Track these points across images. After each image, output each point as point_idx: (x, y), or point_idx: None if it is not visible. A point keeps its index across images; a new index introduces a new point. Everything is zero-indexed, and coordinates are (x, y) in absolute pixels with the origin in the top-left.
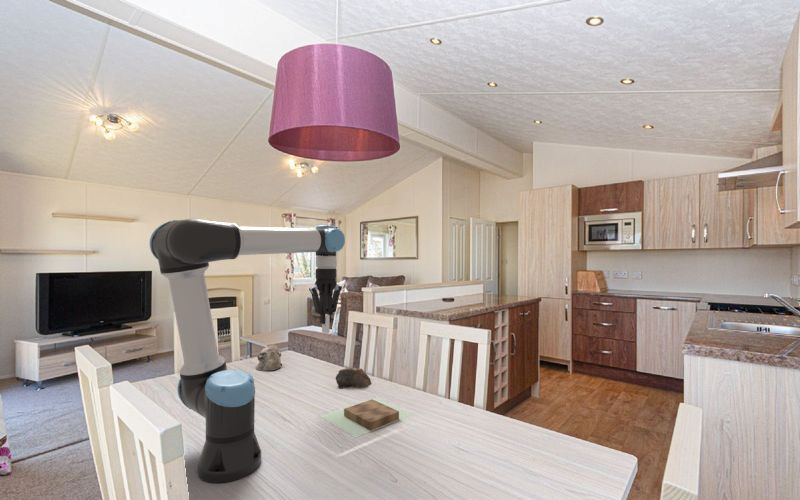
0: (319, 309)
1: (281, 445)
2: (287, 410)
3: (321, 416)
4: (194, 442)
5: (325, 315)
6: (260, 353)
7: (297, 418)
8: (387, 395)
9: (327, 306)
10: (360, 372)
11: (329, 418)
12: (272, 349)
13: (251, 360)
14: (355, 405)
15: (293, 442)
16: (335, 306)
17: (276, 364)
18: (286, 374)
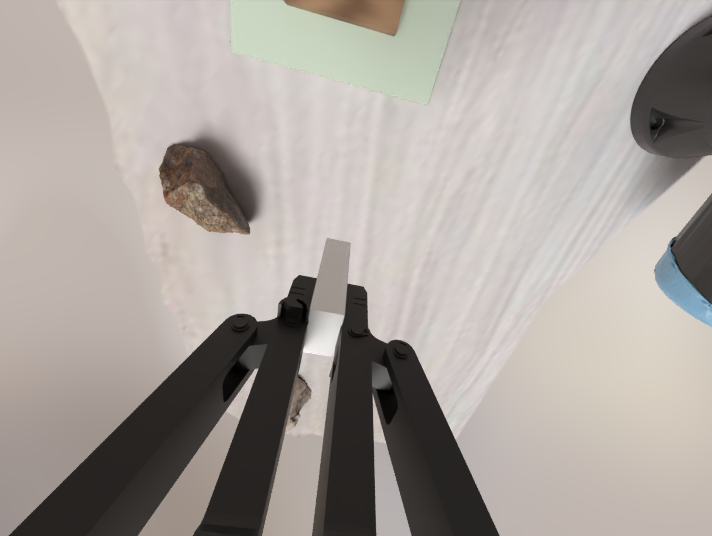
0: (411, 375)
1: (588, 67)
2: (425, 210)
3: (426, 99)
4: (609, 236)
5: (342, 320)
6: (294, 424)
7: (449, 156)
8: (180, 40)
9: (293, 391)
10: (186, 178)
11: (427, 66)
12: None
13: None
14: (357, 14)
15: (567, 51)
16: (215, 354)
17: None
18: None
